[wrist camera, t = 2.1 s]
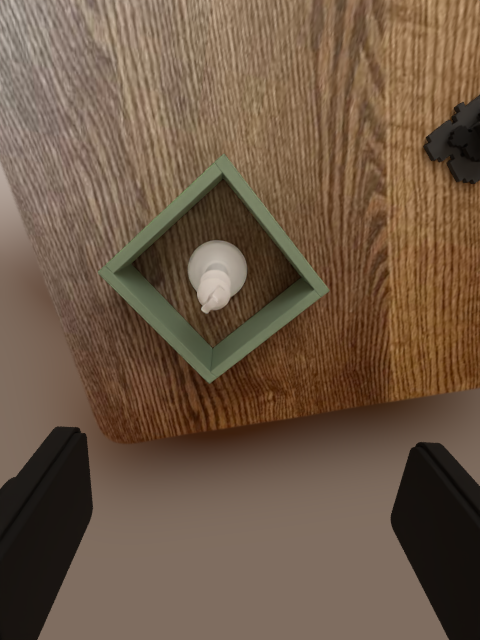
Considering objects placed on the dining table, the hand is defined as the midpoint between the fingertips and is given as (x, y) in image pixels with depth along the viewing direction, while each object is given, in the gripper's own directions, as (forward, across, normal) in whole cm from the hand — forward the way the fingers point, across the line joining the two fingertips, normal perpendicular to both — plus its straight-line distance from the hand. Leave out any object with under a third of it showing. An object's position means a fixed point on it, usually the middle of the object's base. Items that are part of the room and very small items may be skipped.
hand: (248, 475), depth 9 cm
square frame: (+20, +2, -2) cm, 20 cm away
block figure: (+20, -17, -13) cm, 29 cm away
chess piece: (+20, +2, -2) cm, 20 cm away
